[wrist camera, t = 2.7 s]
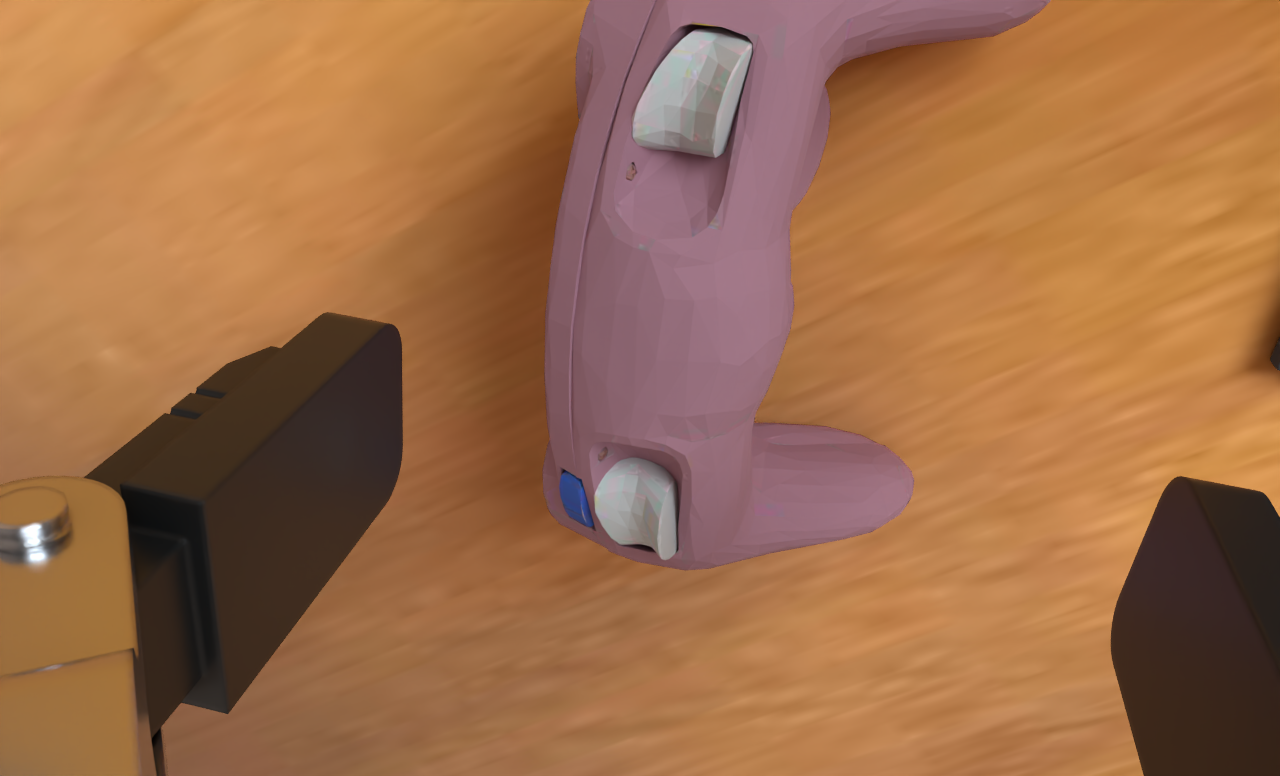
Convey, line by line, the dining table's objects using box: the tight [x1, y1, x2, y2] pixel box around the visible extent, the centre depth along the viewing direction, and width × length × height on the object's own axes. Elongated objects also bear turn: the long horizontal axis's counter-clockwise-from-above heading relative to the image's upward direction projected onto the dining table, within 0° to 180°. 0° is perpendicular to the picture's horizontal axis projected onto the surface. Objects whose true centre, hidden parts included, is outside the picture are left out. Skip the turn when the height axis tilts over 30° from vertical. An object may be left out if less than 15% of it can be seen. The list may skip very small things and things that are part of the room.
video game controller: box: [543, 0, 1051, 570], centre depth 15 cm, size 10×5×7 cm, turn 174°
